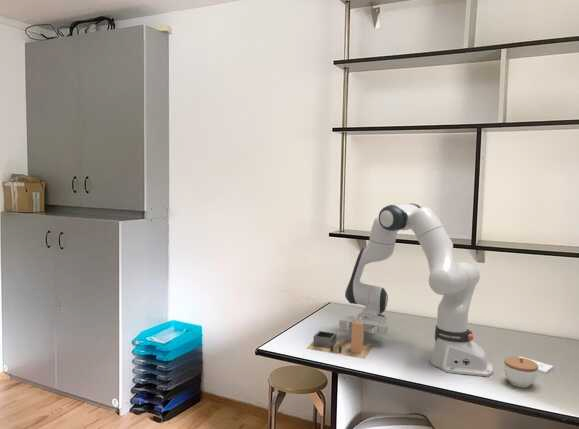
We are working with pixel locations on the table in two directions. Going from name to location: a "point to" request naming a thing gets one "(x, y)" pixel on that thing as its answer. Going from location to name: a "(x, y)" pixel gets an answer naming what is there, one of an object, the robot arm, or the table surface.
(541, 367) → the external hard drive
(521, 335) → the table surface
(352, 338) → the tan tall block
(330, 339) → the end holder
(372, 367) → the table surface
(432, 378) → the table surface
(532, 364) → the lidded jar
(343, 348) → the cable board
